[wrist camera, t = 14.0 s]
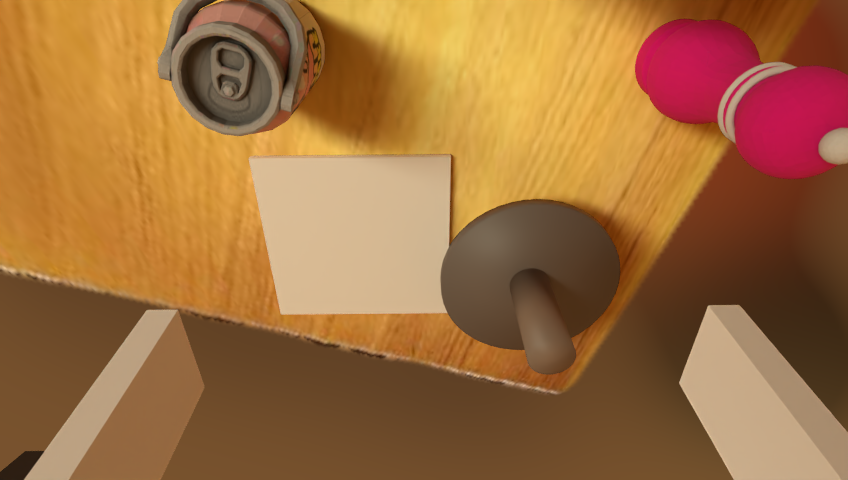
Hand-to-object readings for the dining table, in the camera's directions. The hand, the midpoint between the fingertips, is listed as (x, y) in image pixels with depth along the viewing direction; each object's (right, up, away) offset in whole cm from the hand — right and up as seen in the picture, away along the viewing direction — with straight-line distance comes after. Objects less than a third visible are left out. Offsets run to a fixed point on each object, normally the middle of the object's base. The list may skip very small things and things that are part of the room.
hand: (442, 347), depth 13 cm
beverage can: (-12, +19, +27) cm, 35 cm away
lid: (+9, -1, +33) cm, 34 cm away
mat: (-7, +3, +37) cm, 38 cm away
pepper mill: (+20, +18, +28) cm, 39 cm away
